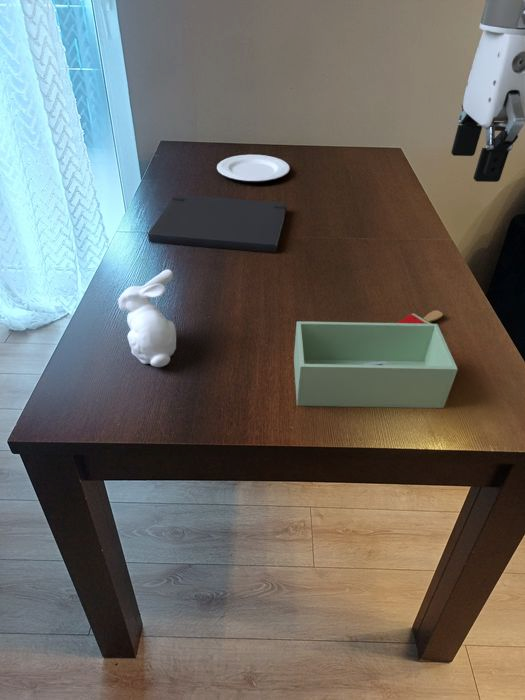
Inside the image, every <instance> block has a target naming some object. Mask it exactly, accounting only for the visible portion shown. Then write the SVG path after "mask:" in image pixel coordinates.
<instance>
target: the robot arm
mask: <svg viewBox="0 0 525 700" xmlns="http://www.w3.org/2000/svg"><path fill="white" fill-rule="evenodd" d="M478 29H479V30H481V31H482V34H481V37H480V40H479V42H478V46H477V49H476V52H475V55H474V58H473V61H472V64H471V69H470V71H469V75H468V79H467V83H466V85H465V90H464V96H463V100H462V104H461V113H460V115H459V117H458V125H457V129H456V132H455V136H454V141H453V145H452V148H451V150H450V151H451V152H450V153H451V155H452V156H453V157H473V156H475V154H476V151H477V147H478V144H479V140H480V136H481V133H482V130H483V129H485V147H481V151H480V154H479V158H478V161H477V163H476V167H475V171H474V175H473V180H474V181H475V182H479V183H480V182H481V183H482V182H483V183H486V182H487V183H497V182H499V181H500V180H501V177H502V174H503V171H504V169H505V164H506V162H507V159H508V156H509V153H510V152H511V151H512V149H513V147H514V143H516V141H517V139H518V138H519V134H520V132H521V130H522V129H523V127H524V125H525V0H485V4H484V6H483V11H482V15H481V19H480V23H479V26H478ZM496 132H499V133H498V134H497V135H496Z"/></svg>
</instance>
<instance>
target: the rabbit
mask: <svg viewBox="0 0 525 700" xmlns="http://www.w3.org/2000/svg"><path fill="white" fill-rule="evenodd" d="M173 279H174V273H173V271H172V270H171V269H164V270H163V271H161V272H160V273H159V274H157V275H156V276H154V277H153V278H151V279H149V281H147V282H146V283H145V284H144V285H131V286H129V287H127V288H126V289H124V291H122V293H121V294H120V296H119V298H118V299H117V304H118V307H119V309H120V311H122V312H127V315H126V317H127V318H126V322H127V325H128V328H129V329H130V330H129V331H128V334H127V336H126V337H127V340H128V343H129V347H130V349H131V354H132V355H133V356H134V357H136V358H137V359H138V360H139V362H141V364H143V365H148V364H150V365H151V366H152V367H154V368H163V367H165V366H167V365H168V364H169V363H170V362H171V357H172V356H173V355H174V354H175V351H176V349H177V332H176V330H177V329H176V326H175V324H174V322H173V321H171V320H168V319H167V318H166V317H165V315H164V314H162V312H161V311H160V310H159V308H158V306H157V305H155V304H154V303H153V302H152V301H151V298H153V299H155V298H156V299H157V298H159V297H162V296H163V295H164V294H165V293H166V291H167V288H166V286H165V285H167V284H168V283H169V282H171V281H172V280H173Z"/></svg>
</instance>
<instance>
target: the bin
mask: <svg viewBox="0 0 525 700" xmlns="http://www.w3.org/2000/svg"><path fill="white" fill-rule="evenodd" d="M293 351H294V352H293V367H294V369H293V370H294V382H295V383H294V384H295V385H294V386H295V396H296V406H297V407H344V408H345V407H346V408H347V407H349V408H350V407H351V408H352V407H353V408H355V407H356V408H407V409H409V408H412V409H415V408H416V409H444V408H445V406H446V403H447V401H448V398H449V395H450V391H451V390H452V386H453V383H454V381H455V378H456V375H457V373H458V366H457V364H456V362H455V360H454V358H453V356H452V353H451V351H450V348H449V346H448V344H447V342H446V340H445V337H444V335H443V333H442V331H441V328H440V326H439V323H432V324H415V323H398V322H356V321H355V322H353V321H351V322H350V321H349V322H348V321H344V322H343V321H301V320H300V321H296V326H295V340H294V350H293ZM383 361H387V364H388V365H365V363H374V362H383Z"/></svg>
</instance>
